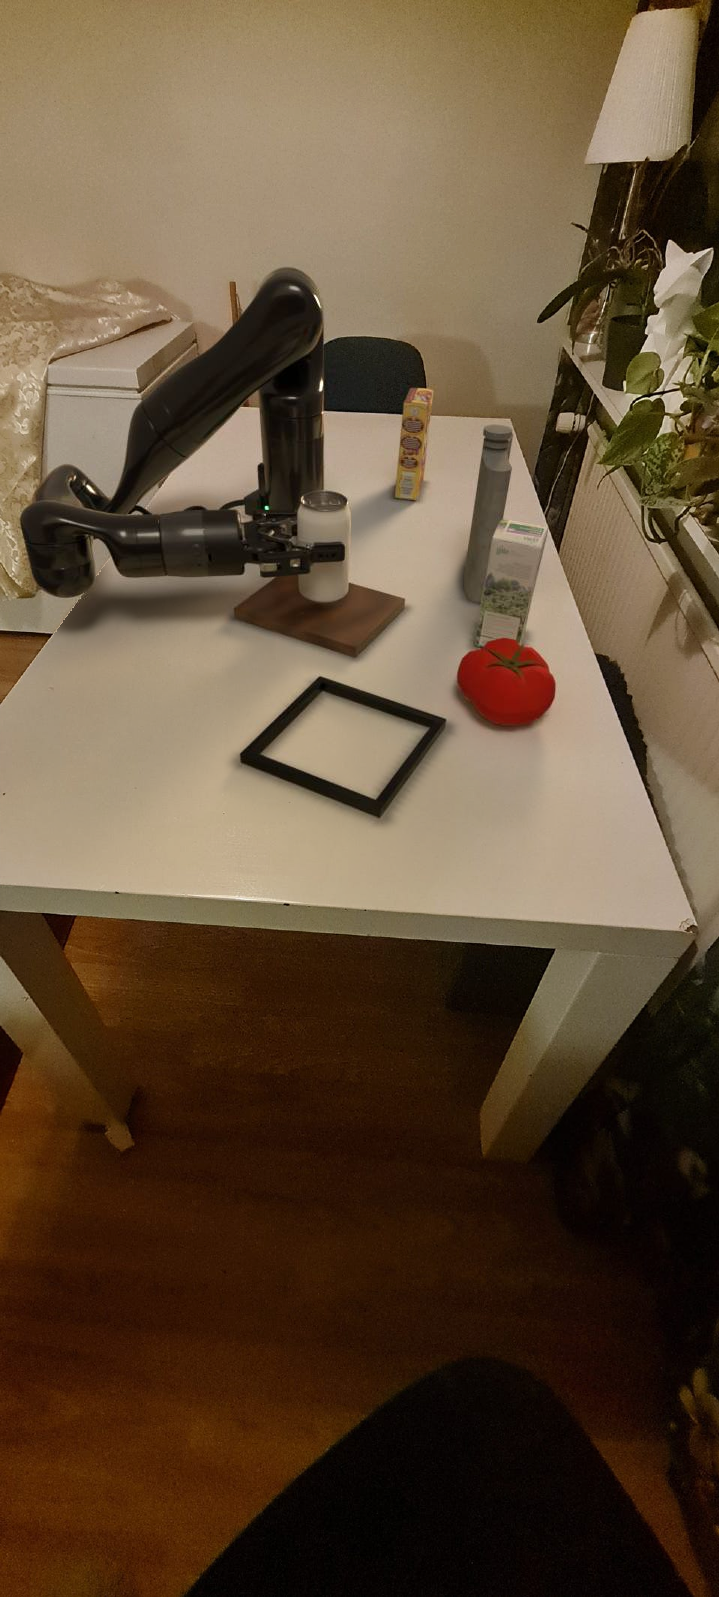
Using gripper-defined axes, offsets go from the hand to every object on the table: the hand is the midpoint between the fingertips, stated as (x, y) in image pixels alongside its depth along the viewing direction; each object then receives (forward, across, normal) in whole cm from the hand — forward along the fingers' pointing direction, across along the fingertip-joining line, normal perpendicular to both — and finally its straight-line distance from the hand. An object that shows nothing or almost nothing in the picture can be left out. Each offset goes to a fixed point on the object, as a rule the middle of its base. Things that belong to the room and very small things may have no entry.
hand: (339, 538), depth 87 cm
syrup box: (+19, +10, -10) cm, 24 cm away
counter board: (-2, 0, -10) cm, 10 cm away
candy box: (+19, -40, -10) cm, 46 cm away
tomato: (+15, +23, -10) cm, 29 cm away
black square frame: (-3, +27, -10) cm, 29 cm away
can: (-2, 0, -7) cm, 8 cm away
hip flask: (+22, -8, -10) cm, 25 cm away
